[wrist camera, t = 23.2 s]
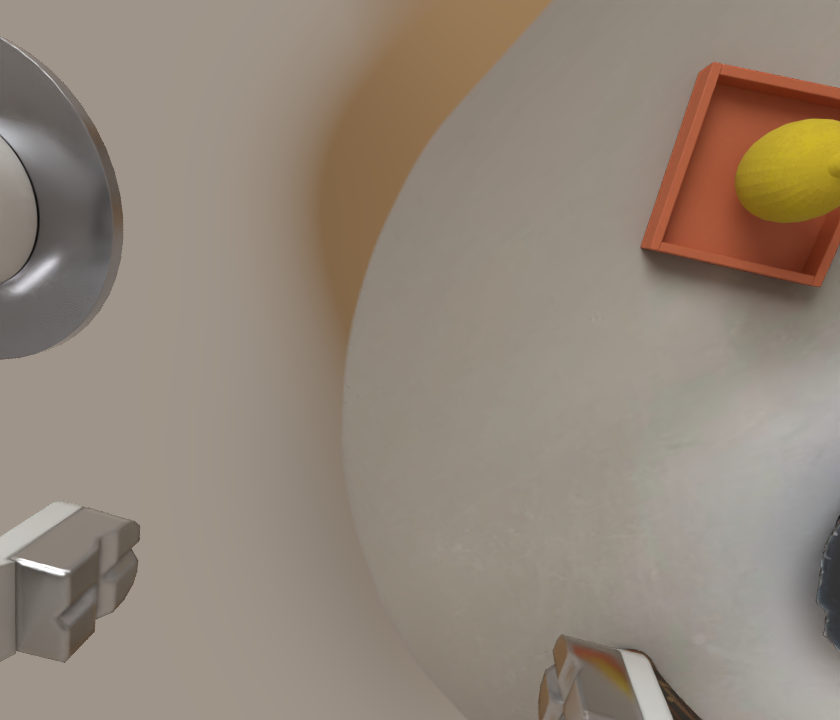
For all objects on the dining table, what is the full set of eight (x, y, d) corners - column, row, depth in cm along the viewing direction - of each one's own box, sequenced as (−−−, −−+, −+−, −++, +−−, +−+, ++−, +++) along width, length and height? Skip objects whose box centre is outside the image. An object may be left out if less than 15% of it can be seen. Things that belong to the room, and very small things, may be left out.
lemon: (711, 228, 33) (783, 228, 26) (713, 140, 32) (789, 112, 24) (801, 217, 32) (903, 214, 25) (806, 126, 31) (915, 93, 23)
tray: (640, 247, 34) (649, 248, 33) (698, 71, 31) (713, 61, 30) (801, 284, 34) (820, 287, 32) (876, 108, 31) (903, 101, 29)
